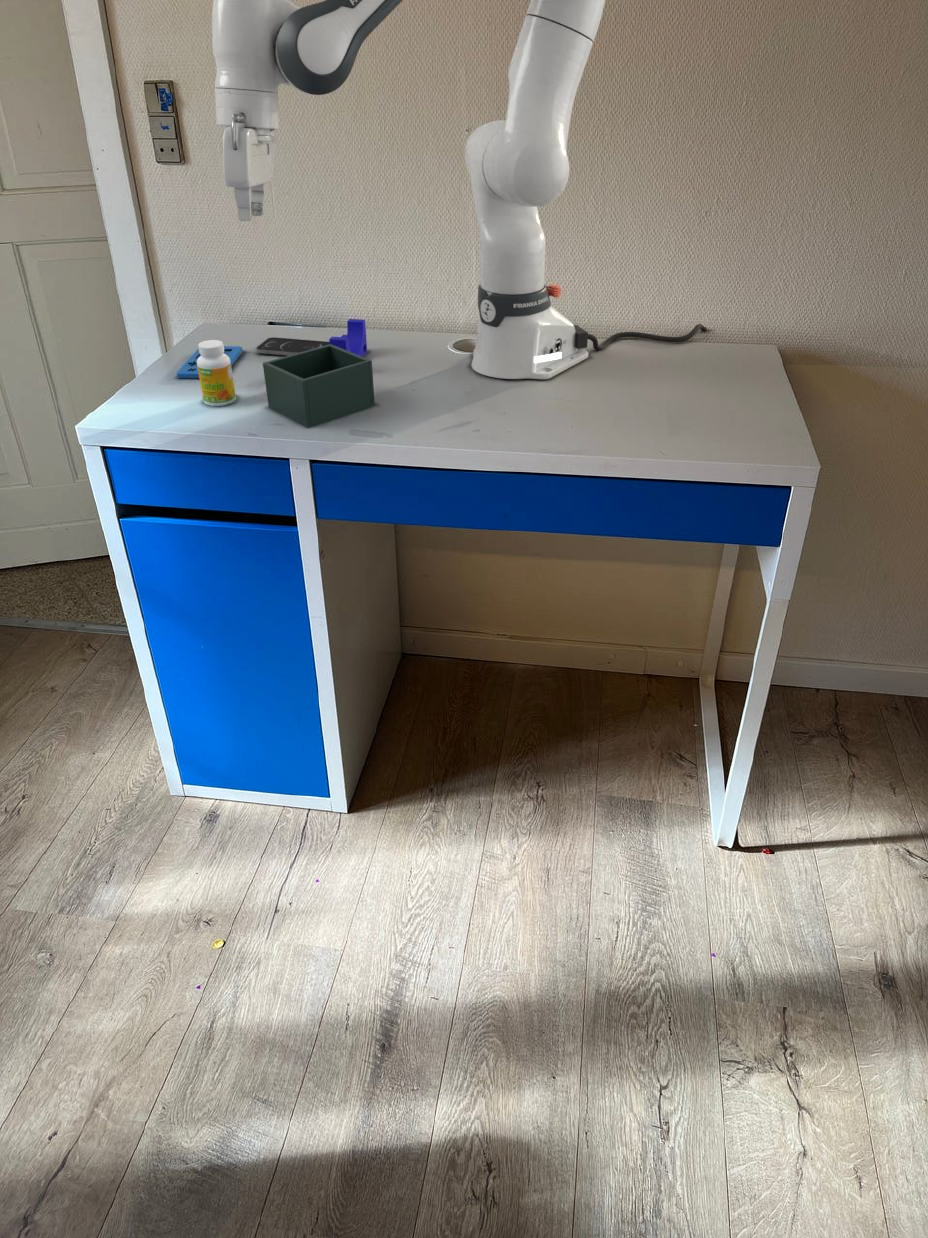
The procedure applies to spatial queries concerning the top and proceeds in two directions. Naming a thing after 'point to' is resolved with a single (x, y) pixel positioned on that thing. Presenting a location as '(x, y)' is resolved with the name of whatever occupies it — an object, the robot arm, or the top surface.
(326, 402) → the bin
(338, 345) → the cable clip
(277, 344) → the smartphone
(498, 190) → the robot arm
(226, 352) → the handheld gaming device
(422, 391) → the top surface
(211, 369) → the supplement bottle
